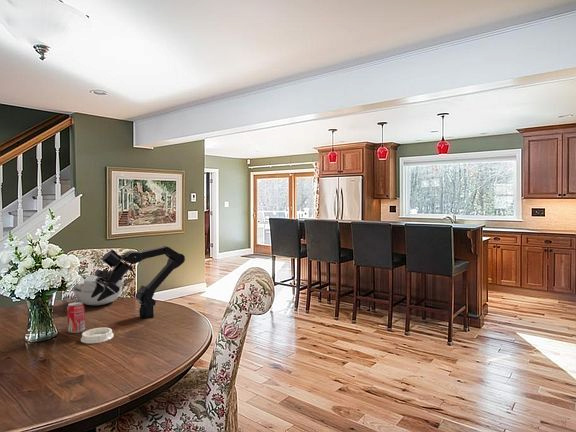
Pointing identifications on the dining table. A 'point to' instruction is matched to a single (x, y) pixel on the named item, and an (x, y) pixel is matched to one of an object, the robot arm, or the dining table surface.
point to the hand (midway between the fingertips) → (94, 299)
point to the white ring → (97, 335)
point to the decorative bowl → (86, 289)
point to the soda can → (76, 317)
